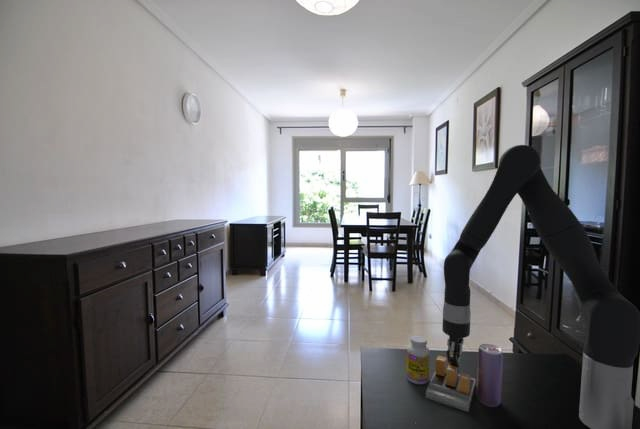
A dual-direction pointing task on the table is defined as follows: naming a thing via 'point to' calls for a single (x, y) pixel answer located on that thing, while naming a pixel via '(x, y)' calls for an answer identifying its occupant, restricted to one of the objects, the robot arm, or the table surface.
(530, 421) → the table surface
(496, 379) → the beverage can
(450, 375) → the paddle
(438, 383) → the tray
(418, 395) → the table surface
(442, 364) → the wooden block
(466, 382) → the tan upright block
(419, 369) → the supplement bottle
